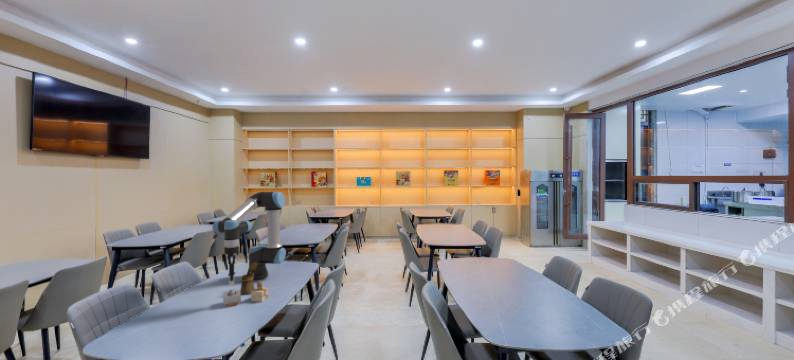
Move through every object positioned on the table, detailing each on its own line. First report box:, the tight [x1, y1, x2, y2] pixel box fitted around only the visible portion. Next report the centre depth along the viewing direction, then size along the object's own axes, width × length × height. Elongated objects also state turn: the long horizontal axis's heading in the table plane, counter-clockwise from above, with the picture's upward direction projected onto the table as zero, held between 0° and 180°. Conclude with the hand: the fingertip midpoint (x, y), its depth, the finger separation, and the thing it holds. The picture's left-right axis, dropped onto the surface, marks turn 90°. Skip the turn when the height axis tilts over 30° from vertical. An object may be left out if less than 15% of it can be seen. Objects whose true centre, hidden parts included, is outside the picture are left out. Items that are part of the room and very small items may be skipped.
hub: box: [224, 288, 240, 307], centre depth 182 cm, size 7×7×8 cm
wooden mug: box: [239, 262, 258, 296], centre depth 202 cm, size 9×14×18 cm, turn 170°
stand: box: [250, 280, 269, 303], centre depth 189 cm, size 7×7×11 cm
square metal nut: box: [222, 289, 242, 306], centre depth 182 cm, size 9×9×4 cm
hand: (231, 285), depth 182 cm, fingers closed
